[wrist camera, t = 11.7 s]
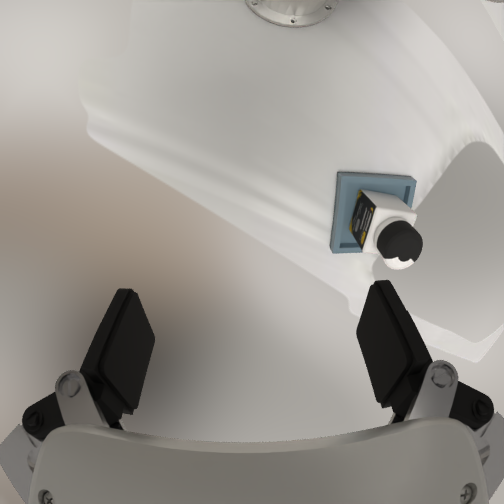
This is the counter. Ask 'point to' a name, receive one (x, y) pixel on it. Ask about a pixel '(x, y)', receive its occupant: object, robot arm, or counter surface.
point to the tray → (348, 195)
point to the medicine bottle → (386, 228)
